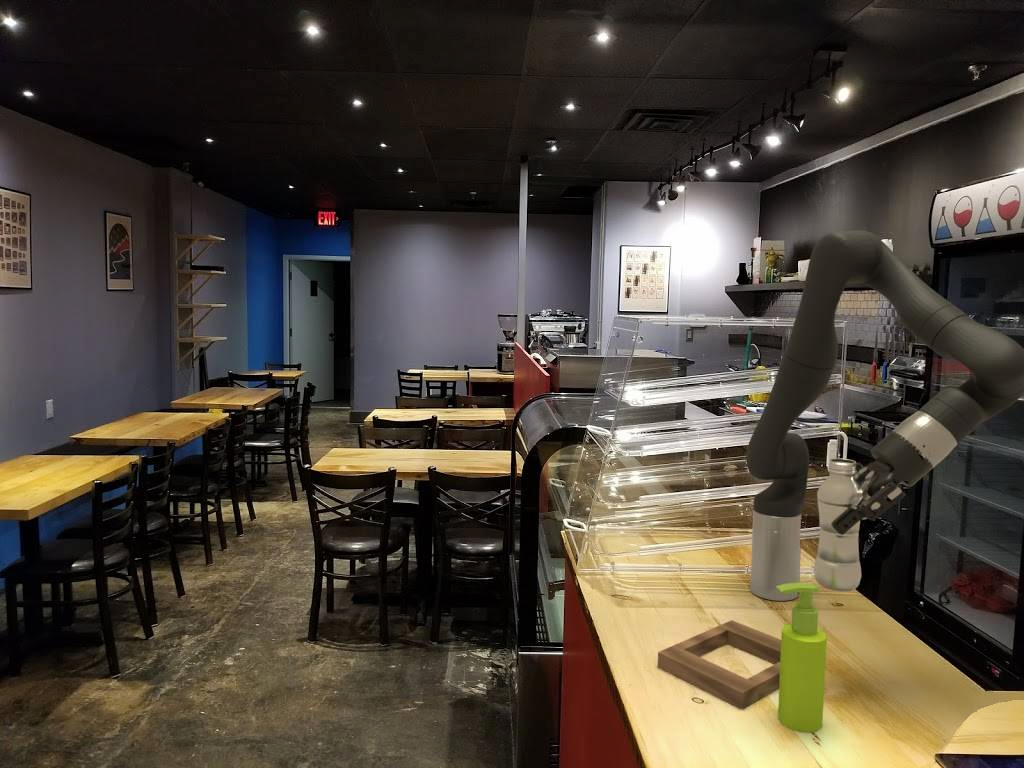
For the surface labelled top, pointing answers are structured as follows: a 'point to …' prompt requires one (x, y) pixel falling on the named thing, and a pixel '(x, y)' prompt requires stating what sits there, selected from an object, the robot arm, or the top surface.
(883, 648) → the top surface
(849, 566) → the plastic bottle
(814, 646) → the soap dispenser
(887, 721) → the top surface
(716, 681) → the brown wooden picture frame
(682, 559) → the top surface
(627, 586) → the top surface
